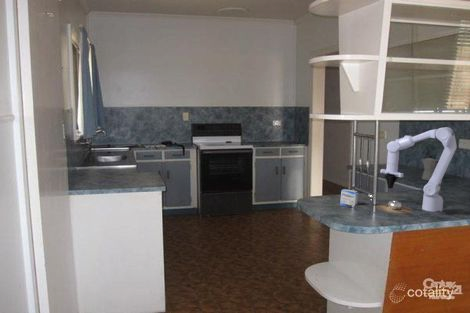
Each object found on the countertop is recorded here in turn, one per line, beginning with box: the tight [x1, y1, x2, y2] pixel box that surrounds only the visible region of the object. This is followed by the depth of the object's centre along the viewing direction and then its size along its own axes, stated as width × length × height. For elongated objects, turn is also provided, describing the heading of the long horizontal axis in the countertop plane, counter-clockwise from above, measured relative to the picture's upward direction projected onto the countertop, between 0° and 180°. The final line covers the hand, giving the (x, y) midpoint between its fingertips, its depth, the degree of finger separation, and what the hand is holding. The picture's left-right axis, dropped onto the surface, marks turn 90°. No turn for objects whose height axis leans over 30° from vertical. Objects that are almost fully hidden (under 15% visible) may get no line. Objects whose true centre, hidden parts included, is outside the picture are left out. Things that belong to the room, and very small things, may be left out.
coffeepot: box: [420, 155, 440, 181], centre depth 302 cm, size 15×9×18 cm, turn 70°
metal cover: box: [388, 199, 402, 210], centre depth 207 cm, size 6×6×4 cm
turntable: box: [375, 203, 414, 214], centre depth 207 cm, size 18×18×2 cm
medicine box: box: [339, 188, 359, 209], centre depth 214 cm, size 8×4×9 cm, turn 56°
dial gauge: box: [367, 193, 374, 207], centre depth 212 cm, size 4×4×7 cm
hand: (390, 188), depth 219 cm, fingers closed
